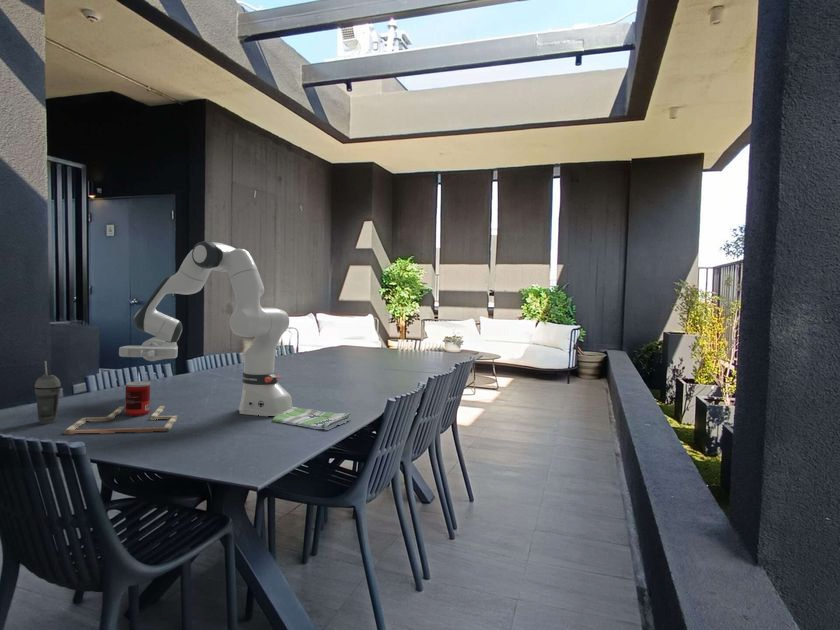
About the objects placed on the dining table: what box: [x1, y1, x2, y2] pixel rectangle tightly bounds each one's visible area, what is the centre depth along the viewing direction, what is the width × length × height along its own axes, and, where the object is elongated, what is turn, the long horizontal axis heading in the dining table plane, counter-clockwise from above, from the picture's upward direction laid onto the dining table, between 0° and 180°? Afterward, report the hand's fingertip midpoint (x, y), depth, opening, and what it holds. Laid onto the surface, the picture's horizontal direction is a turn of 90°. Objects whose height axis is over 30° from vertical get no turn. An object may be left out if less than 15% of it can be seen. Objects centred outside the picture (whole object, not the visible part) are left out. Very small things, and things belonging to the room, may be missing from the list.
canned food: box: [124, 380, 151, 417], centre depth 187 cm, size 8×8×11 cm
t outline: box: [62, 405, 179, 435], centre depth 178 cm, size 32×29×1 cm
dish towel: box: [271, 407, 351, 428], centre depth 187 cm, size 17×23×4 cm
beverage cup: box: [33, 360, 62, 425], centre depth 171 cm, size 7×7×20 cm
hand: (144, 354), depth 196 cm, fingers closed
